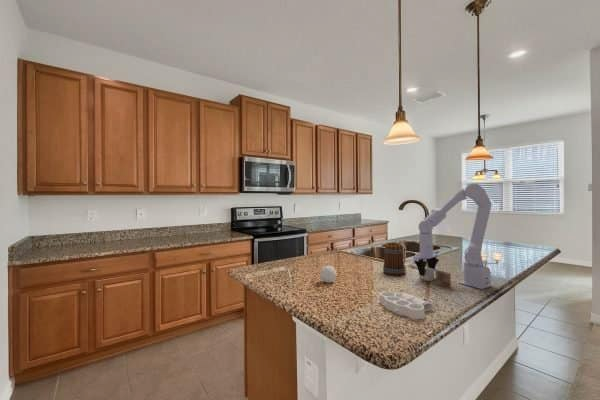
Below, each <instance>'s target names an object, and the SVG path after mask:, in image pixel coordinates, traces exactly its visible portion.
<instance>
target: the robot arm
mask: <svg viewBox="0 0 600 400" xmlns="http://www.w3.org/2000/svg"><path fill="white" fill-rule="evenodd" d="M468 198H469V199H471V200H473V202H474V203H475V205H477V210H476V214H475V219H474V222H473V223H474V224H473V227H472V231H471V237H470V240H469V243H468V246H467V248H465V251H464V260H465V261H463V280H462V281H459V284H462V285H464V286H469V287H473V288H476V289H480V290H484V289H487V288H490V287H493V285H492V283H491V282H492V281H491V280H492V279H491V274H492V272H491V269H490V267H488V266H486V265H484V263H483V262H482V260H483V257H482V250H483V249H482V248H483V242H484V239H485V234H486V230H487V225H488V221H489V218H490V213H491V209H492V202H491V199H490V197H489V195H488V194H487V192H486V190H485V189H484V188H483V187H482V186H481V185H480V184H478V183H475V182H474V183H469V184H467V185H466V186H465V188H462V189H460V190H459V191H458V192H456V193H455V194H454V195H453V196H451V198H450V199H449V200H448V201H446V203H444V205H443V206H441V208H440V207H438V208H437V207H436V208H434V209H432V210H430V213H429V214H428V215H427V216H426V217H423V220H422V221H420V222H419V224H418V230H419V238H418V239H419V253H417V255H415V256H413V262H414V263H415V266H416V267H417V270H418V271H417V272H418V274H420V275H421V276H424V275H425V267H428V268H432V269H434V272H435V267H437V264H438V263H439V260H440V259H439V253H437V252H434V245H433V244H434V243H433V241H434V240H433V237H434V236H433V229H434V227H437V226H438V225H439V224H440V223H442V221H444V220H445V219H446V218H447V213H448V212H449V211H451V210H452V208H454V207H455V206H456V205H457V204H458V203H459V202H462V201H465V200H467V199H468ZM424 260H426V261H424Z"/></svg>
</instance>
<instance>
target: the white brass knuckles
mask: <svg viewBox="0 0 600 400" xmlns="http://www.w3.org/2000/svg"><path fill="white" fill-rule="evenodd" d="M379 304H381V305H382V306H383V307H384V308H385V309H386V308H387V309H386V310H388V309H389V311H392V312H393V314H397V315H399V316H404V317H407V318H409V319H411V320H422V319H424V318H425V312H429V311H431V310H432V308H433V303H431V302H430V301H426V300H424V299H420V298H419V297H416V296H413V295H410V294H408V293H407V292H398V293H397V292H390V291H382V292H380V293H379Z"/></svg>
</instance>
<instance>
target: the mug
mask: <svg viewBox="0 0 600 400" xmlns="http://www.w3.org/2000/svg"><path fill="white" fill-rule="evenodd" d="M383 250H384V251H383V252H384V254H383V255H384V256H383V257H384V258H383V266H382V267H383V268H382V270H383V273H384V274H386V275H388V276H394V277H395V276H396V277H397V276H398V277H400V276H403V275H405V273H406V267H405V262H404V249H403V244H402V243H401V242H398V241H395V242H386V243H385V244H384V249H383Z"/></svg>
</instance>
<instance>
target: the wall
mask: <svg viewBox="0 0 600 400" xmlns="http://www.w3.org/2000/svg"><path fill="white" fill-rule="evenodd" d="M451 275H452V273H450V272H446V271H442V270H440V269H438V271H436V276H435V278H436V281H435V282H436V286H439V287H442V288H445V289H451V283H452V282H451Z"/></svg>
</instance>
